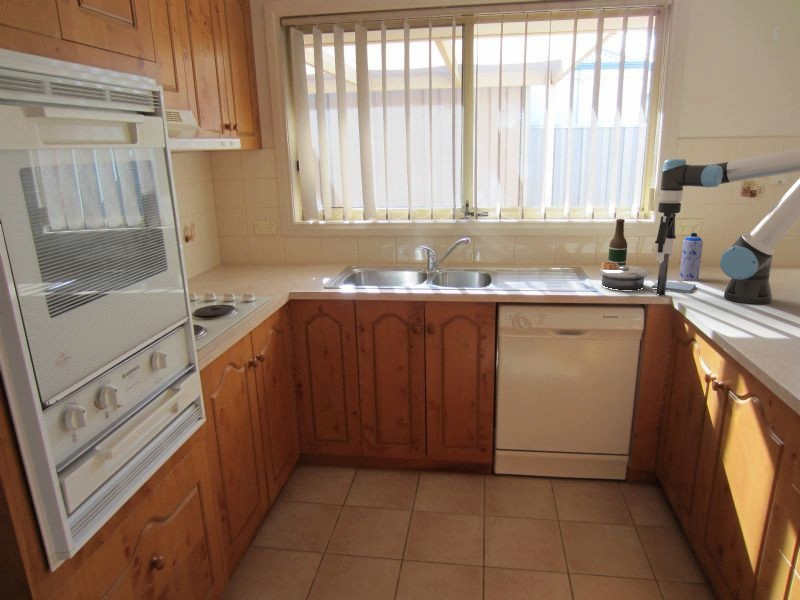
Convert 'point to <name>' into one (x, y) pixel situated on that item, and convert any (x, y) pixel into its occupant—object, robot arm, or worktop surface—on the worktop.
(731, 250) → the robot arm
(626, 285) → the cylinder
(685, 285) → the plate
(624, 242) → the beer bottle
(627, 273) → the disc
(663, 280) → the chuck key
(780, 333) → the worktop surface
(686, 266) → the aerosol can
